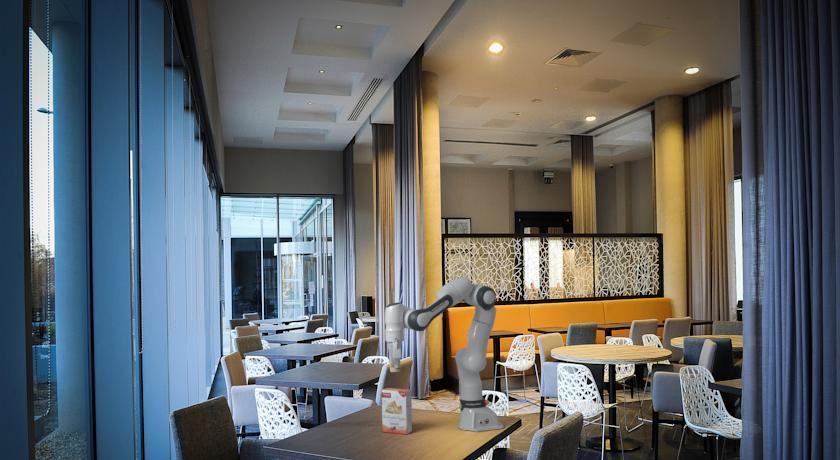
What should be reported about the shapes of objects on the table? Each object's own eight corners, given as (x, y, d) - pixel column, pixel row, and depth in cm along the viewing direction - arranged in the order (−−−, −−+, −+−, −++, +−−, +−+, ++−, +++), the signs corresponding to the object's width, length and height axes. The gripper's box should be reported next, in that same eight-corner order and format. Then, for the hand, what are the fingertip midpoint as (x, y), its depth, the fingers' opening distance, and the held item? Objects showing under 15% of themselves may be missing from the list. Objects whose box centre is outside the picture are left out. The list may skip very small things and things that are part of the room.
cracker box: (381, 432, 309) (381, 389, 311) (388, 429, 315) (387, 387, 316) (406, 435, 303) (405, 391, 305) (412, 432, 308) (411, 389, 310)
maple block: (399, 370, 298) (399, 359, 298) (400, 371, 293) (400, 360, 294) (390, 370, 297) (389, 360, 298) (391, 372, 293) (390, 361, 293)
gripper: (404, 339, 287) (404, 369, 286) (398, 335, 307) (399, 363, 306) (390, 339, 286) (391, 370, 285) (385, 335, 306) (386, 364, 305)
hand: (395, 367), depth 295 cm, fingers closed on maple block, 4 cm apart
